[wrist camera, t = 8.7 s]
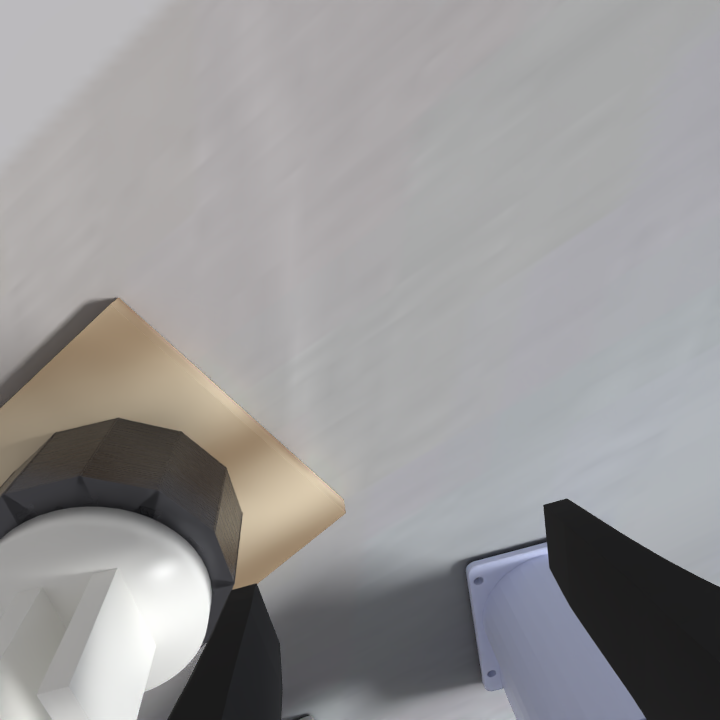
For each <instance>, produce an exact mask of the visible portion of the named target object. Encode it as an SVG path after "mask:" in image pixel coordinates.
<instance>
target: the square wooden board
mask: <svg viewBox="0 0 720 720" xmlns="http://www.w3.org/2000/svg"><path fill="white" fill-rule="evenodd" d="M115 418H122V419H126V420H131V421H135V422H140V423H145V424H149V425H154V426H158V427H163V428H168V429H172V430H177V431H182V432H183V433H184V434H185V435H187V436H188V437H189V438H190V439H192V440H193V441H194V442H195V443H197V444H198V445H199V446H200V447H202V448H203V449H204V450H205V451H207V452H208V453H209V454H210V455H212V456H213V457H214V458H215V459H217V460H218V461H219V462H220V463H222V464H223V465H224V466H225V467H227V470H228V473H229V476H230V479H231V482H232V485H233V488H234V490H235V493H236V496H237V499H238V502H239V505H240V507H241V510H242V512H243V517H242V526H241V534H240V543H239V551H238V560H237V568H236V577H235V584H234V586H233V589H237V588H241V587H244V586H248V585H252V584H255V583H257V584H258V583H259V582H260V581H261V580H263V579H264V578H265V577H266V576H268V575H269V574H270V573H271V572H273V571H274V570H275V569H276V568H278V567H279V566H280V565H281V564H283V563H284V562H285V561H286V560H288V559H289V558H290V557H291V556H293V555H294V554H295V553H296V552H298V551H299V550H300V549H301V548H303V547H304V546H305V545H306V544H308V543H309V542H310V541H311V540H313V539H314V538H315V537H316V536H318V535H319V534H320V533H321V532H323V531H324V530H325V529H326V528H328V527H329V526H330V525H331V524H333V523H334V522H335V521H336V520H338V519H339V518H340V517H341V516H343V515H344V514H345V513H346V511H345V505H344V499H342V498H341V497H340V496H339V495H338V494H337V493H336V492H335V491H334V490H332V489H331V488H330V487H329V486H328V485H327V484H326V483H325V482H324V481H322V480H321V479H320V478H319V477H318V476H317V475H316V474H315V473H313V472H312V471H311V470H310V469H309V468H308V467H307V466H306V465H305V464H303V463H302V462H301V461H300V460H299V459H298V458H297V457H296V456H295V455H293V454H292V453H291V452H290V451H289V450H288V449H287V448H286V447H285V446H283V445H282V444H281V443H280V442H279V441H278V440H277V439H276V438H274V437H273V436H272V435H271V434H270V433H269V432H268V431H267V430H266V429H264V428H263V427H262V426H261V425H260V424H259V423H258V422H257V421H256V420H254V419H253V418H252V417H251V416H250V415H249V414H248V413H247V412H246V411H244V410H243V409H242V408H241V407H240V406H239V405H238V404H237V403H236V402H234V401H233V400H232V399H231V398H230V397H229V396H228V395H227V394H225V393H224V392H223V391H222V390H221V389H220V388H219V387H218V386H217V385H215V384H214V383H213V382H212V381H211V380H210V379H209V378H208V377H207V376H205V375H204V374H203V373H202V372H201V371H200V370H199V369H198V368H197V367H195V366H194V365H193V364H192V363H191V362H190V361H189V360H188V359H186V358H185V357H184V356H183V355H182V354H181V353H180V352H179V351H178V350H176V349H175V348H174V347H173V346H172V345H171V344H170V343H169V342H168V341H166V340H165V339H164V338H163V337H162V336H161V335H160V334H159V333H158V332H156V331H155V330H154V329H153V328H152V327H151V326H150V325H149V324H147V323H146V322H145V321H144V320H143V319H142V318H141V317H140V316H139V315H137V314H136V313H135V312H134V311H133V310H132V309H131V308H130V307H129V306H127V305H126V304H125V303H124V302H123V301H122V300H121V299H120V298H117V299H116V300H115V301H114V302H112V303H111V304H110V305H109V306H108V307H107V308H106V309H105V310H104V311H103V312H102V313H101V314H99V315H98V316H97V317H96V318H95V319H94V320H93V321H92V322H91V323H90V324H89V325H88V326H87V327H86V328H85V329H84V330H83V331H81V332H80V333H79V334H78V335H77V336H76V337H75V338H74V339H73V340H72V341H71V342H70V343H69V344H68V345H67V346H66V347H65V348H64V349H62V350H61V351H60V352H59V353H58V354H57V355H56V356H55V357H54V358H53V359H52V360H51V361H50V362H49V363H48V364H47V365H46V366H45V367H43V368H42V369H41V370H40V371H39V372H38V373H37V374H36V375H35V376H34V377H33V378H32V379H31V380H30V381H29V382H28V383H27V384H25V385H24V386H23V387H22V388H21V389H20V390H19V391H18V392H17V393H16V394H15V395H14V396H13V397H12V398H11V399H10V400H9V401H8V402H6V403H5V404H4V405H3V406H2V407H1V408H0V487H1V486H2V485H3V484H4V482H5V481H6V480H7V479H8V478H9V477H10V476H11V474H12V473H13V472H14V471H16V470H17V469H18V468H19V467H20V466H21V465H22V464H23V463H24V462H25V461H26V460H27V459H28V458H29V457H30V456H32V455H33V454H34V453H35V452H36V451H37V450H38V449H39V448H40V447H41V446H42V445H43V444H44V443H45V442H46V441H47V440H48V439H49V438H50V437H51V436H52V435H53V434H54V433H56V432H60V431H64V430H68V429H73V428H77V427H81V426H85V425H90V424H94V423H98V422H102V421H107V420H111V419H115ZM233 589H232V590H233Z"/></svg>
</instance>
